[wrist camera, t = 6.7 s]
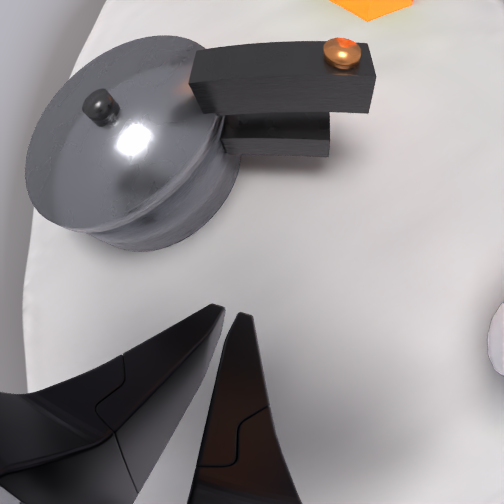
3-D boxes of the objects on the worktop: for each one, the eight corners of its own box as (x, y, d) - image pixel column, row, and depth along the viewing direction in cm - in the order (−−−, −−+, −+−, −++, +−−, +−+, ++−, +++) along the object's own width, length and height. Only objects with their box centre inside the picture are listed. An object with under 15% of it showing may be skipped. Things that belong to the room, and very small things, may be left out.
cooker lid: (376, 233, 15) (401, 198, 10) (16, 234, 19) (-28, 216, 15) (347, 28, 18) (349, -20, 14) (70, 71, 22) (45, 42, 18)
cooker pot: (322, 264, 21) (328, 242, 15) (46, 244, 26) (0, 226, 20) (325, 89, 24) (326, 38, 18) (87, 109, 29) (56, 78, 23)
